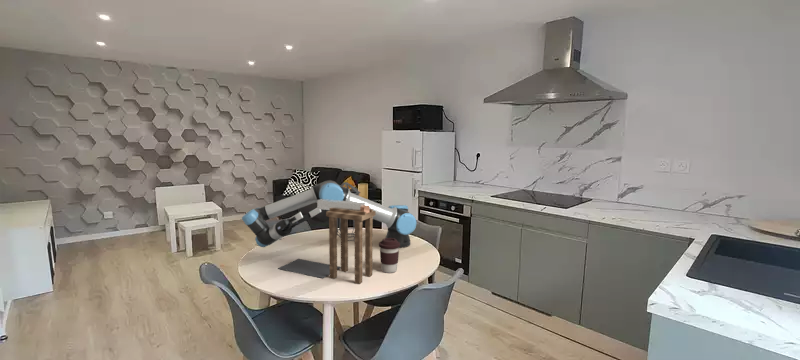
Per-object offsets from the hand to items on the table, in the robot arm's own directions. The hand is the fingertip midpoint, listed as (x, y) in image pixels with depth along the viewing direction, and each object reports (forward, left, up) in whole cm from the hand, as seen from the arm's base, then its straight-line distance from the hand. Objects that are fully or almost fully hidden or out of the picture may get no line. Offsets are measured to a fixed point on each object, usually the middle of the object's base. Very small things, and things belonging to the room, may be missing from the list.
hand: (311, 211), depth 174 cm
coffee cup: (-37, +1, -28) cm, 46 cm away
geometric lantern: (-10, -50, -28) cm, 58 cm away
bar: (-15, +7, +2) cm, 17 cm away
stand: (-20, +9, -28) cm, 35 cm away
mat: (+1, -1, -28) cm, 28 cm away
